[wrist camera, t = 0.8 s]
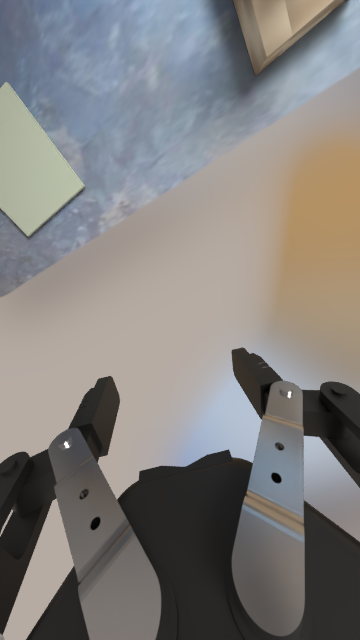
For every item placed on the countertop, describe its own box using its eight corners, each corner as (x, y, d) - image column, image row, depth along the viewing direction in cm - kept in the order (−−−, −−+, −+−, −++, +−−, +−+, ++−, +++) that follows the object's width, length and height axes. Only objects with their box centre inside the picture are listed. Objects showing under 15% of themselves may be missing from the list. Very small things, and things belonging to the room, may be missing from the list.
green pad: (-50, 153, 25) (-54, 152, 25) (9, 84, 23) (6, 81, 22) (30, 236, 30) (27, 236, 30) (85, 186, 28) (83, 186, 27)
